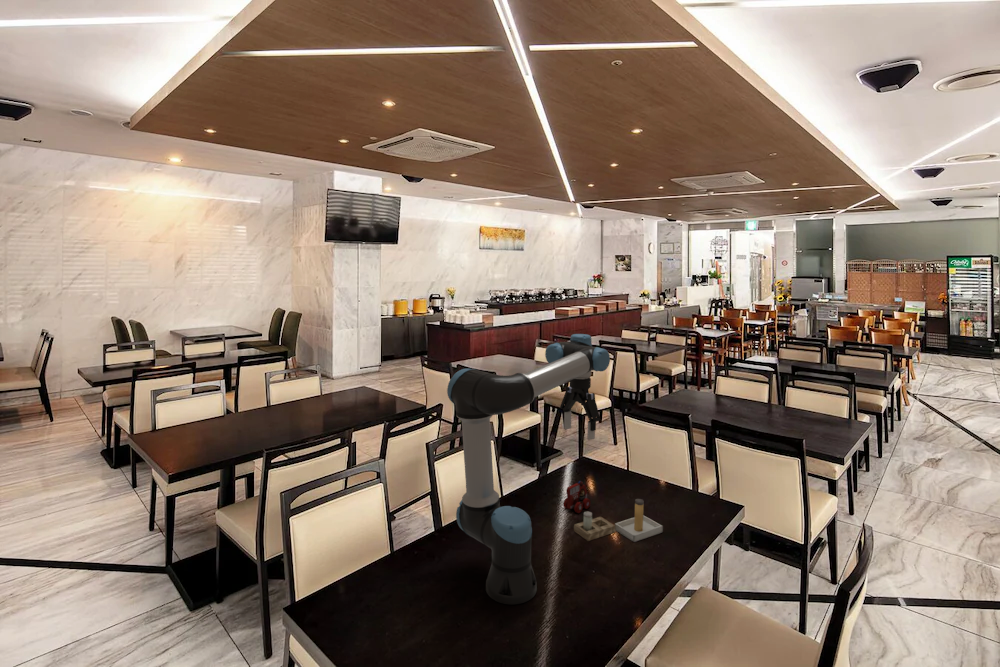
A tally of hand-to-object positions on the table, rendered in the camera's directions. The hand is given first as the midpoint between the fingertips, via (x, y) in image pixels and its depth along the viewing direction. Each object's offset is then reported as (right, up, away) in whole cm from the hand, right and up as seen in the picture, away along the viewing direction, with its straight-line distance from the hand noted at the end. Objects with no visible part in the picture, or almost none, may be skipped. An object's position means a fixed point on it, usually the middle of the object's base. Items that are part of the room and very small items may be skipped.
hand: (578, 433), depth 190 cm
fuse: (+3, -35, -3) cm, 36 cm away
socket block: (+6, -35, -2) cm, 36 cm away
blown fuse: (+21, -35, -1) cm, 41 cm away
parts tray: (+22, -35, -1) cm, 41 cm away
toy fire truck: (+2, -33, +17) cm, 37 cm away
